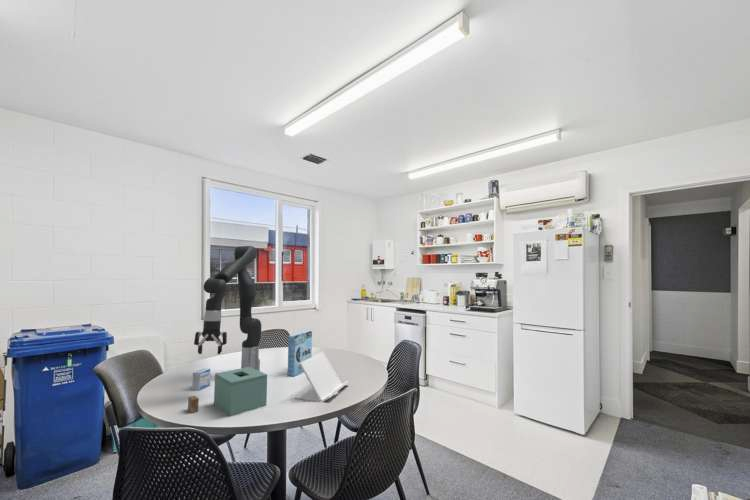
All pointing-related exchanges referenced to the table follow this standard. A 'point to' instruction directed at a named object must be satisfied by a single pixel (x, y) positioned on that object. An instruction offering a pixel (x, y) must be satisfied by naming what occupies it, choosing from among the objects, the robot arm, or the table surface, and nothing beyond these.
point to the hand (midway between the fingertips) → (209, 353)
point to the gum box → (298, 351)
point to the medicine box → (201, 379)
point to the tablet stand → (320, 379)
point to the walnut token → (193, 404)
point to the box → (240, 390)
